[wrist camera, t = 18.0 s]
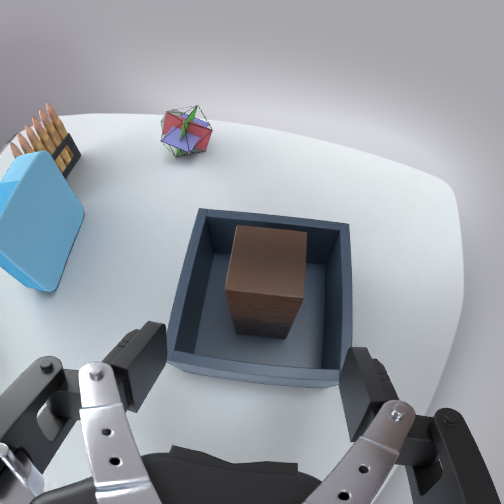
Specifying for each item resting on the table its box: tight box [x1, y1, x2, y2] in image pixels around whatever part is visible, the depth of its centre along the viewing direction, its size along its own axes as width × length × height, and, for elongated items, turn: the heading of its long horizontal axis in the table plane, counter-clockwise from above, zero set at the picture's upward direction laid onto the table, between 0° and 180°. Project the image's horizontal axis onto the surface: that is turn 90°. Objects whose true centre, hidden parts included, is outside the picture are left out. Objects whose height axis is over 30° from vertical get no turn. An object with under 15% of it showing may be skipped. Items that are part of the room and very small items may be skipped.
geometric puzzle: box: [160, 105, 213, 158], centre depth 35 cm, size 7×7×8 cm
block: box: [225, 225, 307, 339], centre depth 21 cm, size 4×4×10 cm
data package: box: [0, 151, 84, 292], centre depth 25 cm, size 12×4×12 cm, turn 175°
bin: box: [166, 208, 352, 388], centre depth 23 cm, size 13×13×7 cm
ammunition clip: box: [10, 102, 81, 179], centre depth 31 cm, size 11×2×12 cm, turn 172°
